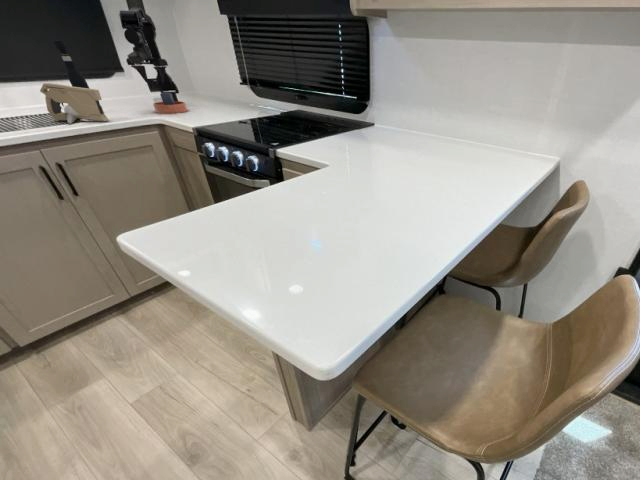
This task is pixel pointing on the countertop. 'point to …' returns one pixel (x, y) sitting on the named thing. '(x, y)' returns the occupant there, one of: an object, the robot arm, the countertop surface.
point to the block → (167, 99)
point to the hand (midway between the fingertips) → (154, 82)
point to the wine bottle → (71, 67)
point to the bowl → (170, 107)
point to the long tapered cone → (70, 114)
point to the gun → (73, 101)
